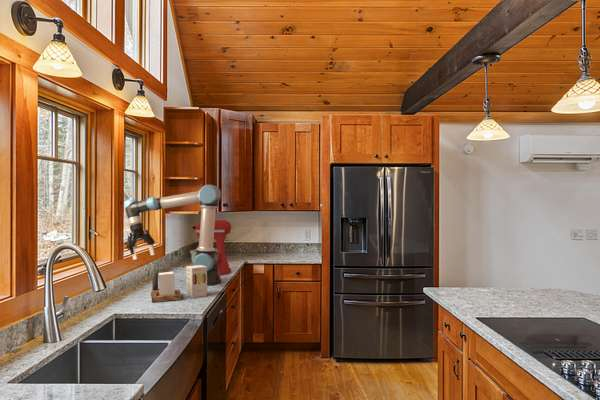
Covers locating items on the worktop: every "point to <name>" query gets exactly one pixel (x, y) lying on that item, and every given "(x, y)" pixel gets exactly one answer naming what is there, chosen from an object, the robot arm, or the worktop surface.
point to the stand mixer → (217, 244)
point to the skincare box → (166, 284)
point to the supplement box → (196, 281)
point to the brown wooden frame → (155, 291)
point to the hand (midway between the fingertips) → (144, 257)
